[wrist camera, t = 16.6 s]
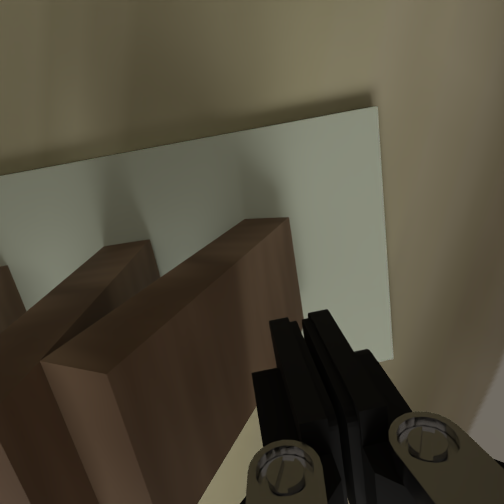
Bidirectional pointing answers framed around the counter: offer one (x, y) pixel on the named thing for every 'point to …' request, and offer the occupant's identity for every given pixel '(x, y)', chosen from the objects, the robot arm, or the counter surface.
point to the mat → (220, 212)
